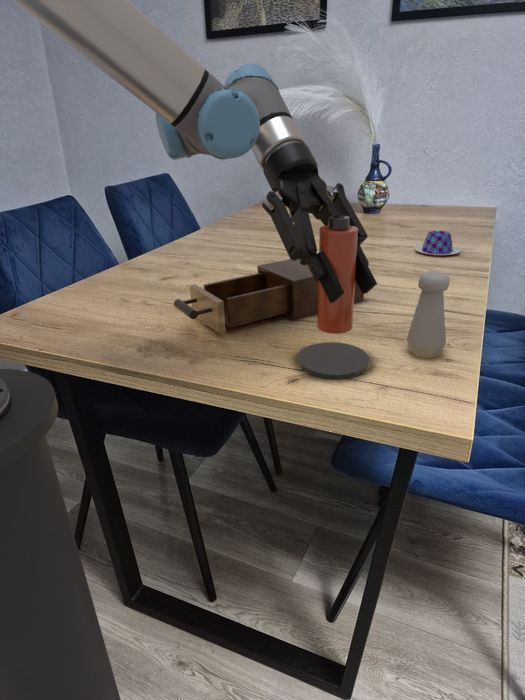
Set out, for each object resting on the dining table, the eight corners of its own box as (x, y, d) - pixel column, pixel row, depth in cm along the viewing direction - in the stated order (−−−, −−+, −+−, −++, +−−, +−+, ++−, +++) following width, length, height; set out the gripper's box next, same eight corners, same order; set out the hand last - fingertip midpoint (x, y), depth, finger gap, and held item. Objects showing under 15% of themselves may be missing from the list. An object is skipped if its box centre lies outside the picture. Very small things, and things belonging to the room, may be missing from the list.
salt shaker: (440, 345, 77) (452, 268, 71) (447, 362, 72) (460, 279, 66) (403, 344, 78) (412, 267, 72) (407, 359, 73) (417, 278, 67)
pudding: (462, 258, 122) (466, 238, 120) (414, 256, 125) (416, 236, 123) (457, 247, 133) (460, 228, 130) (413, 245, 136) (415, 227, 133)
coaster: (285, 370, 71) (285, 365, 70) (313, 341, 79) (313, 337, 79) (356, 386, 66) (356, 381, 66) (377, 354, 75) (378, 349, 74)
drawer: (197, 340, 79) (193, 308, 77) (171, 319, 88) (167, 289, 85) (297, 313, 89) (297, 283, 86) (265, 296, 98) (264, 269, 95)
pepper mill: (311, 330, 69) (313, 219, 62) (324, 317, 73) (327, 212, 66) (345, 336, 67) (351, 222, 60) (357, 323, 71) (363, 214, 64)
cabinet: (293, 320, 88) (293, 281, 85) (258, 301, 98) (257, 265, 95) (363, 300, 96) (366, 264, 93) (324, 285, 106) (325, 251, 103)
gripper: (321, 171, 77) (386, 293, 72) (223, 181, 69) (288, 320, 64) (344, 136, 71) (417, 267, 66) (239, 143, 62) (313, 293, 57)
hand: (353, 293), depth 65 cm, fingers closed on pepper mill, 5 cm apart
